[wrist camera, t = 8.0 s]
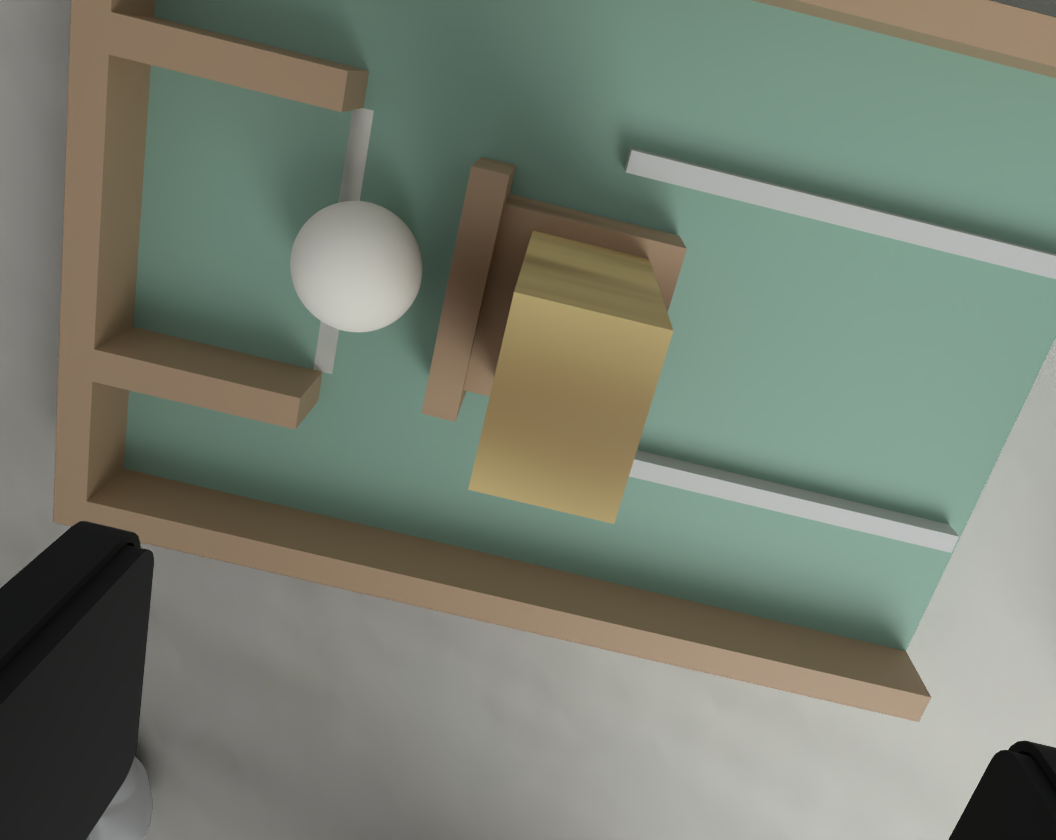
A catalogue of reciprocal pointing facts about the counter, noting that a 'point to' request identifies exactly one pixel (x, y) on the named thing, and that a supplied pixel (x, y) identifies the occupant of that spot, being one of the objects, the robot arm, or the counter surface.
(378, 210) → the ball
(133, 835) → the grey figurine
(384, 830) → the counter surface
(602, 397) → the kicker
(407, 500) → the pitch
